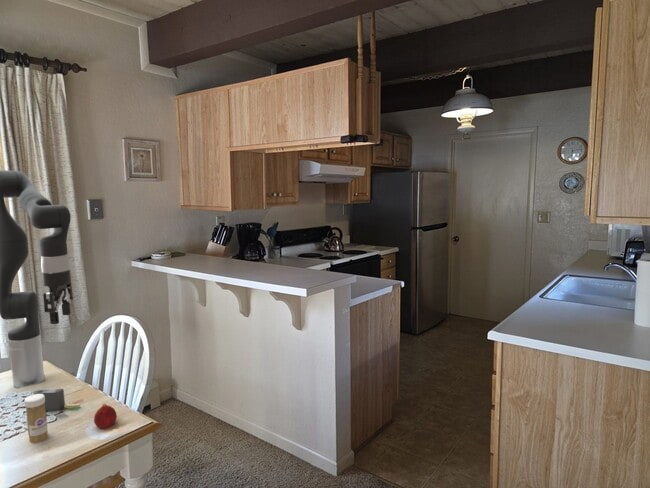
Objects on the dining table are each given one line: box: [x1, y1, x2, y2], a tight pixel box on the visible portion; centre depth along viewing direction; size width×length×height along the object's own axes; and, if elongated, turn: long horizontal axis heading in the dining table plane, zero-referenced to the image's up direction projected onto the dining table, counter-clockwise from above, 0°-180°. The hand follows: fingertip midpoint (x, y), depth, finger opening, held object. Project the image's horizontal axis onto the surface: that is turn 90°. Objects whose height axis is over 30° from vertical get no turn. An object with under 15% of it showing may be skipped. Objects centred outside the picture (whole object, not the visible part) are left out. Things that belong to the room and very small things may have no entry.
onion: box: [93, 402, 118, 430], centre depth 124 cm, size 6×6×8 cm
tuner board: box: [54, 398, 85, 420], centre depth 133 cm, size 16×15×2 cm
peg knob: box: [32, 388, 81, 413], centre depth 133 cm, size 13×2×6 cm, turn 98°
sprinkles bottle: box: [24, 394, 49, 444], centre depth 117 cm, size 5×5×13 cm
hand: (61, 319), depth 137 cm, fingers open, 8 cm apart
